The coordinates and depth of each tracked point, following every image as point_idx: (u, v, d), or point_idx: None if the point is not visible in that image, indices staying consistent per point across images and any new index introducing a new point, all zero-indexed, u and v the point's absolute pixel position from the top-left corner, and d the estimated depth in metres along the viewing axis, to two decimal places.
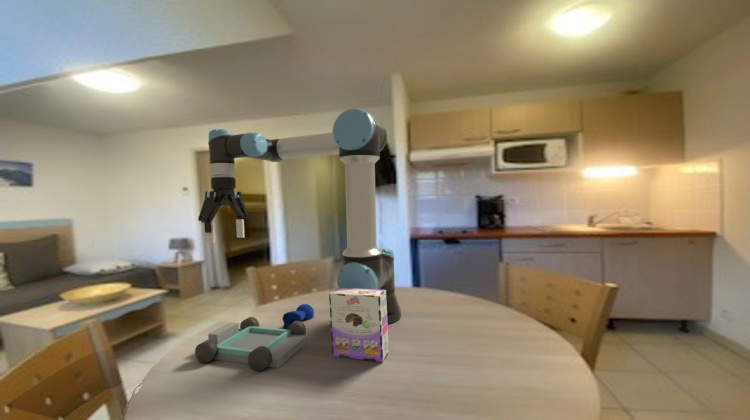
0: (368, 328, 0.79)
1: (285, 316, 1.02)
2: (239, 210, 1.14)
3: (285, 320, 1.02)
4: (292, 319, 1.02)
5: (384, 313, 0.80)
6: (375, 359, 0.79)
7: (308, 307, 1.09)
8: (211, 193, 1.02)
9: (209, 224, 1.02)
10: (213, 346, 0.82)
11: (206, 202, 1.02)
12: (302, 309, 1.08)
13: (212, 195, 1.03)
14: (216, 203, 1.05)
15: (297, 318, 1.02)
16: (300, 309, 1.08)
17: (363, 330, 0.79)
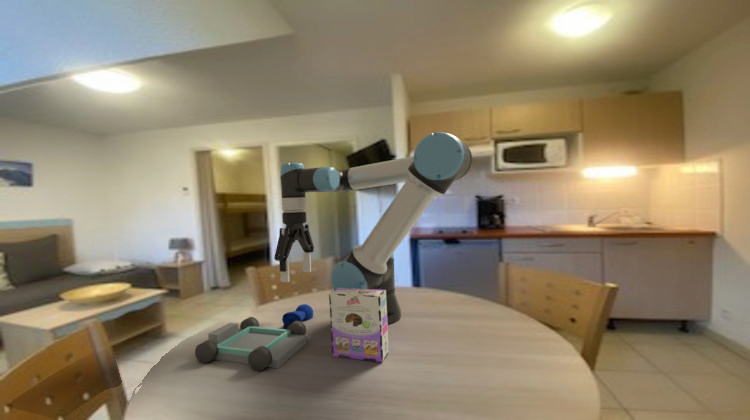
0: (368, 328, 0.79)
1: (285, 316, 1.02)
2: (307, 244, 1.10)
3: (285, 320, 1.02)
4: (292, 319, 1.02)
5: (384, 313, 0.80)
6: (375, 359, 0.79)
7: (307, 307, 1.09)
8: (286, 230, 0.99)
9: (284, 263, 0.98)
10: (213, 346, 0.82)
11: (281, 240, 0.98)
12: (301, 309, 1.08)
13: (287, 232, 0.99)
14: (289, 239, 1.01)
15: (297, 318, 1.01)
16: (299, 309, 1.08)
17: (363, 330, 0.79)
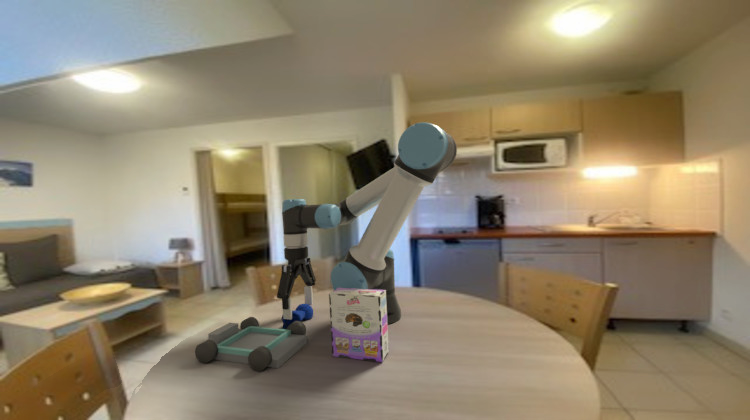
0: (368, 328, 0.79)
1: None
2: (309, 277, 1.11)
3: (284, 320, 1.02)
4: (291, 319, 1.02)
5: (384, 313, 0.80)
6: (375, 359, 0.79)
7: (307, 307, 1.09)
8: (288, 268, 0.99)
9: (287, 300, 0.99)
10: (213, 346, 0.82)
11: (283, 277, 0.98)
12: (301, 309, 1.08)
13: (289, 270, 0.99)
14: (291, 276, 1.02)
15: (296, 318, 1.01)
16: (299, 309, 1.08)
17: (363, 330, 0.79)
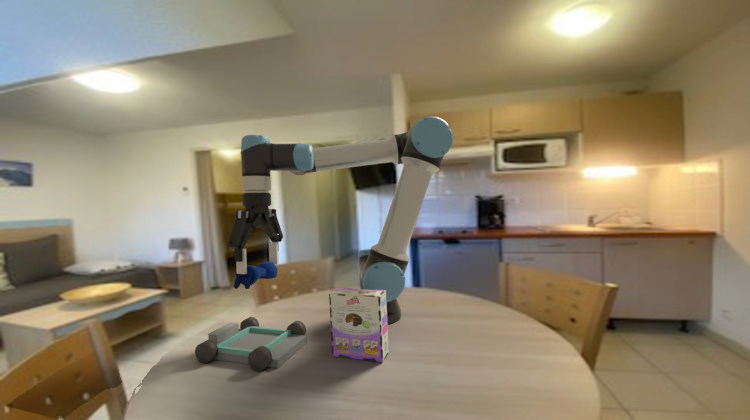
0: (368, 328, 0.79)
1: None
2: (273, 231, 0.95)
3: (239, 275, 0.87)
4: (247, 274, 0.86)
5: (384, 313, 0.80)
6: (375, 359, 0.79)
7: (270, 264, 0.94)
8: (243, 213, 0.84)
9: (240, 251, 0.83)
10: (213, 346, 0.82)
11: (237, 224, 0.83)
12: (263, 266, 0.93)
13: (244, 215, 0.84)
14: (248, 225, 0.87)
15: (252, 273, 0.86)
16: (260, 266, 0.93)
17: (363, 330, 0.79)
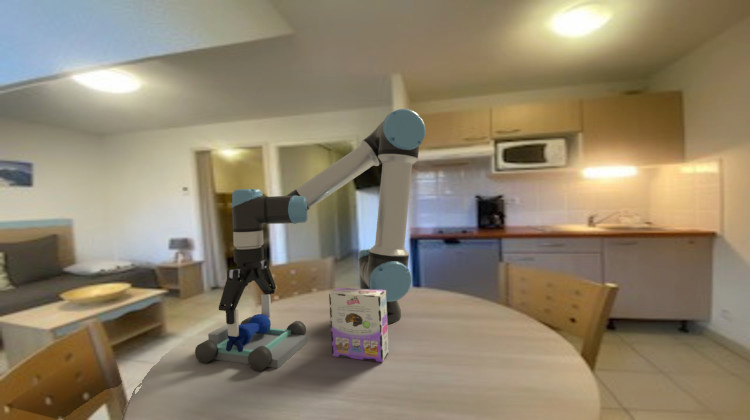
0: (368, 328, 0.79)
1: None
2: (266, 284, 0.92)
3: (231, 336, 0.83)
4: (239, 334, 0.83)
5: (384, 313, 0.80)
6: (375, 359, 0.79)
7: (263, 318, 0.90)
8: (235, 273, 0.80)
9: (232, 313, 0.80)
10: (213, 346, 0.82)
11: (228, 285, 0.80)
12: (255, 321, 0.89)
13: (236, 275, 0.81)
14: (240, 283, 0.83)
15: (245, 333, 0.83)
16: (253, 321, 0.89)
17: (363, 330, 0.79)
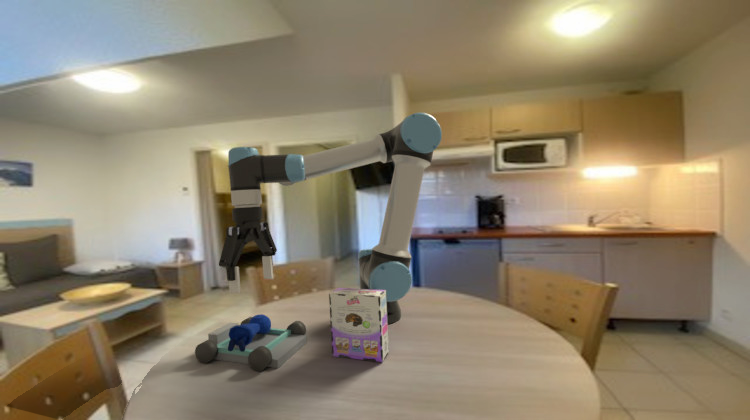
0: (368, 328, 0.79)
1: (232, 331, 0.83)
2: (266, 246, 0.92)
3: (232, 336, 0.83)
4: (241, 334, 0.83)
5: (384, 313, 0.80)
6: (375, 359, 0.79)
7: (263, 318, 0.90)
8: (234, 230, 0.80)
9: (232, 270, 0.80)
10: (213, 346, 0.82)
11: (228, 241, 0.80)
12: (256, 321, 0.89)
13: (235, 232, 0.80)
14: (240, 241, 0.83)
15: (247, 333, 0.83)
16: (253, 321, 0.90)
17: (363, 330, 0.79)
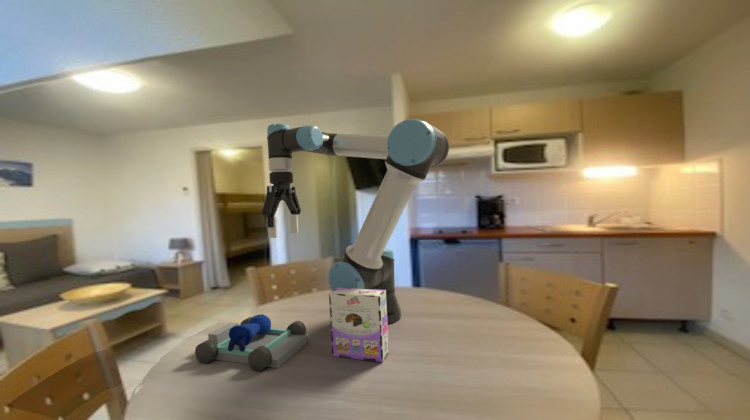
0: (368, 328, 0.79)
1: (232, 331, 0.83)
2: (294, 205, 1.14)
3: (232, 336, 0.83)
4: (241, 334, 0.83)
5: (384, 313, 0.80)
6: (375, 359, 0.79)
7: (263, 318, 0.90)
8: (273, 188, 1.02)
9: (272, 219, 1.01)
10: (213, 346, 0.82)
11: (269, 197, 1.01)
12: (256, 321, 0.89)
13: (274, 190, 1.02)
14: (276, 198, 1.05)
15: (247, 333, 0.83)
16: (253, 321, 0.90)
17: (363, 330, 0.79)
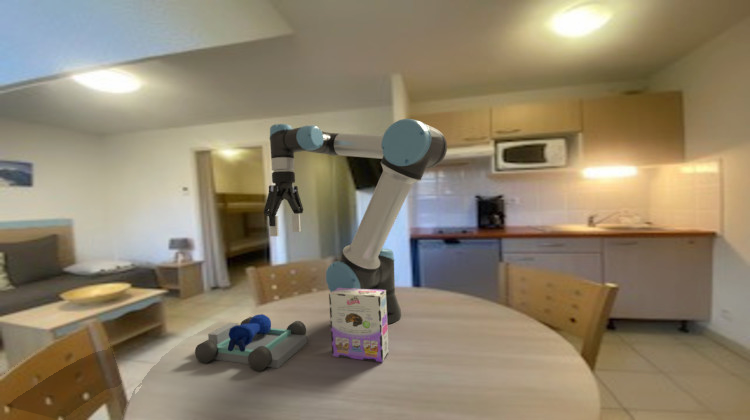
0: (368, 328, 0.79)
1: (232, 331, 0.83)
2: (296, 204, 1.15)
3: (232, 336, 0.83)
4: (241, 334, 0.83)
5: (384, 313, 0.80)
6: (375, 359, 0.79)
7: (263, 318, 0.90)
8: (275, 187, 1.04)
9: (273, 218, 1.03)
10: (213, 346, 0.82)
11: (270, 196, 1.03)
12: (256, 321, 0.89)
13: (276, 189, 1.04)
14: (278, 197, 1.06)
15: (247, 333, 0.83)
16: (253, 321, 0.90)
17: (363, 330, 0.79)
